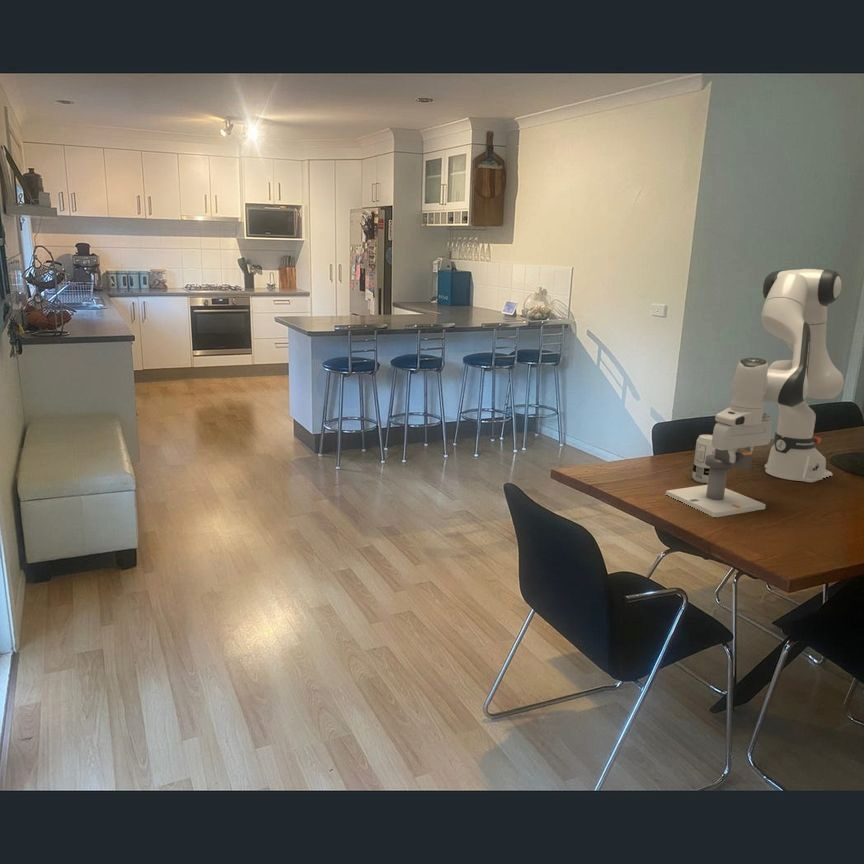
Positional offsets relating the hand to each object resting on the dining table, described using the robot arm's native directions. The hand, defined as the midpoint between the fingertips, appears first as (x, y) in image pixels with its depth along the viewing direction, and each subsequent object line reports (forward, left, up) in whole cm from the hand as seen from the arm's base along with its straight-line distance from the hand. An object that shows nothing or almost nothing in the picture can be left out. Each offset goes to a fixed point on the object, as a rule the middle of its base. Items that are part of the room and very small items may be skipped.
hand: (738, 461), depth 203 cm
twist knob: (0, -4, -3) cm, 5 cm away
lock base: (0, -7, -15) cm, 16 cm away
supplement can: (-13, -24, -15) cm, 31 cm away
